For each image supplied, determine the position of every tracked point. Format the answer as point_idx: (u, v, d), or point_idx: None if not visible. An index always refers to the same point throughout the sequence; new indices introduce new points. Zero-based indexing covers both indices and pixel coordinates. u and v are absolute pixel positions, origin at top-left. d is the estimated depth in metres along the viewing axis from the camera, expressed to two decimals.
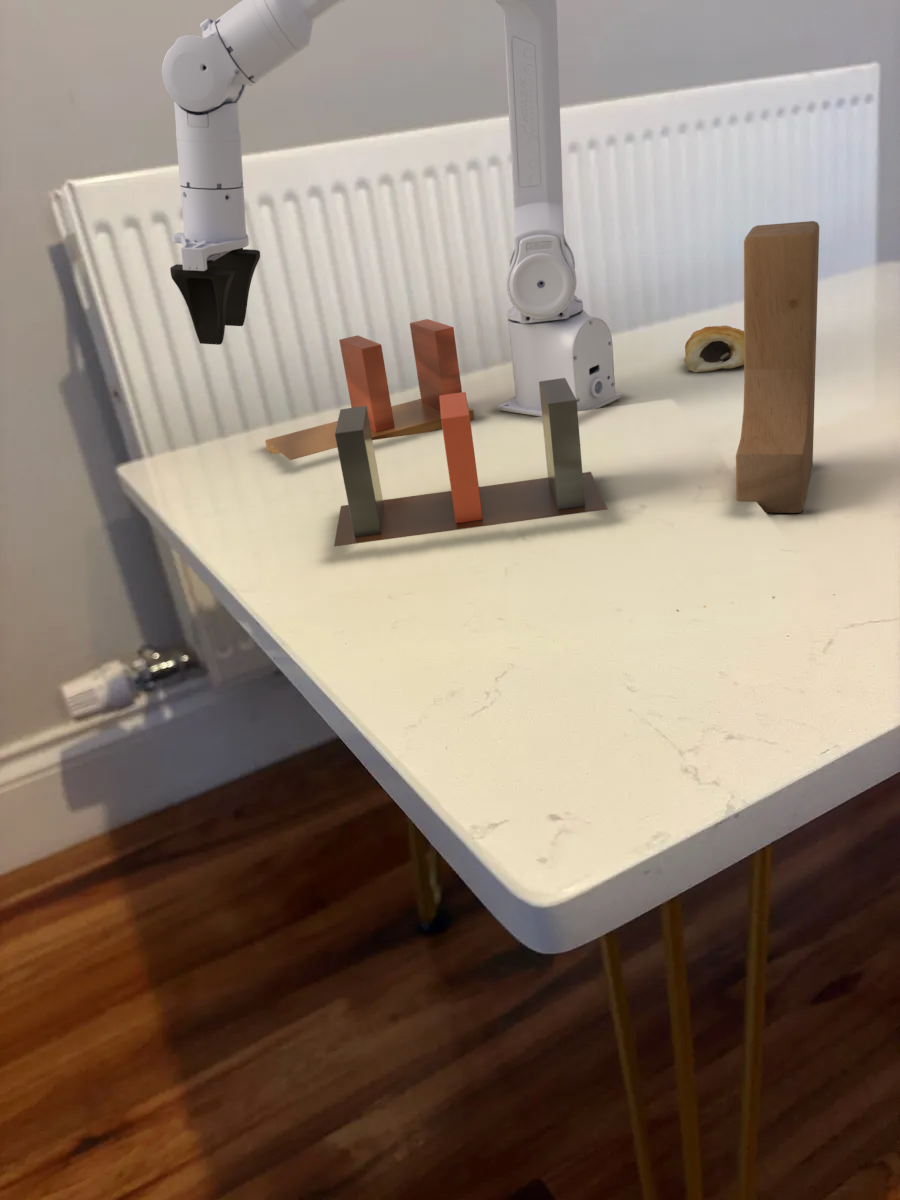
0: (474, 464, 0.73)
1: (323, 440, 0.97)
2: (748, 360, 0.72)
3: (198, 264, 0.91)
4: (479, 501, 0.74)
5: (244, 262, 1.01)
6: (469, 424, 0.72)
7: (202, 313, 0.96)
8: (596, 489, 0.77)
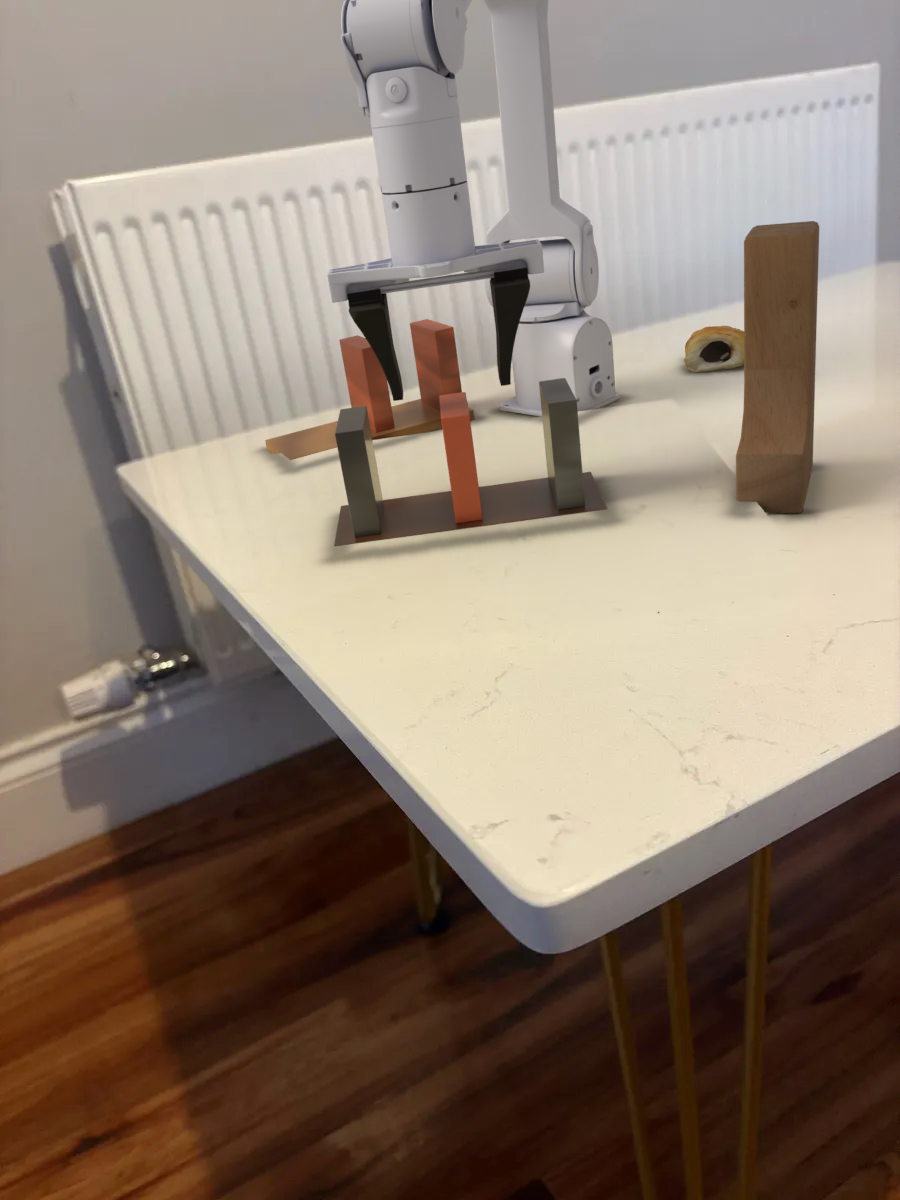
0: (474, 464, 0.73)
1: (323, 440, 0.97)
2: (748, 360, 0.72)
3: None
4: (479, 501, 0.74)
5: (387, 303, 0.72)
6: (469, 424, 0.72)
7: None
8: (596, 489, 0.77)
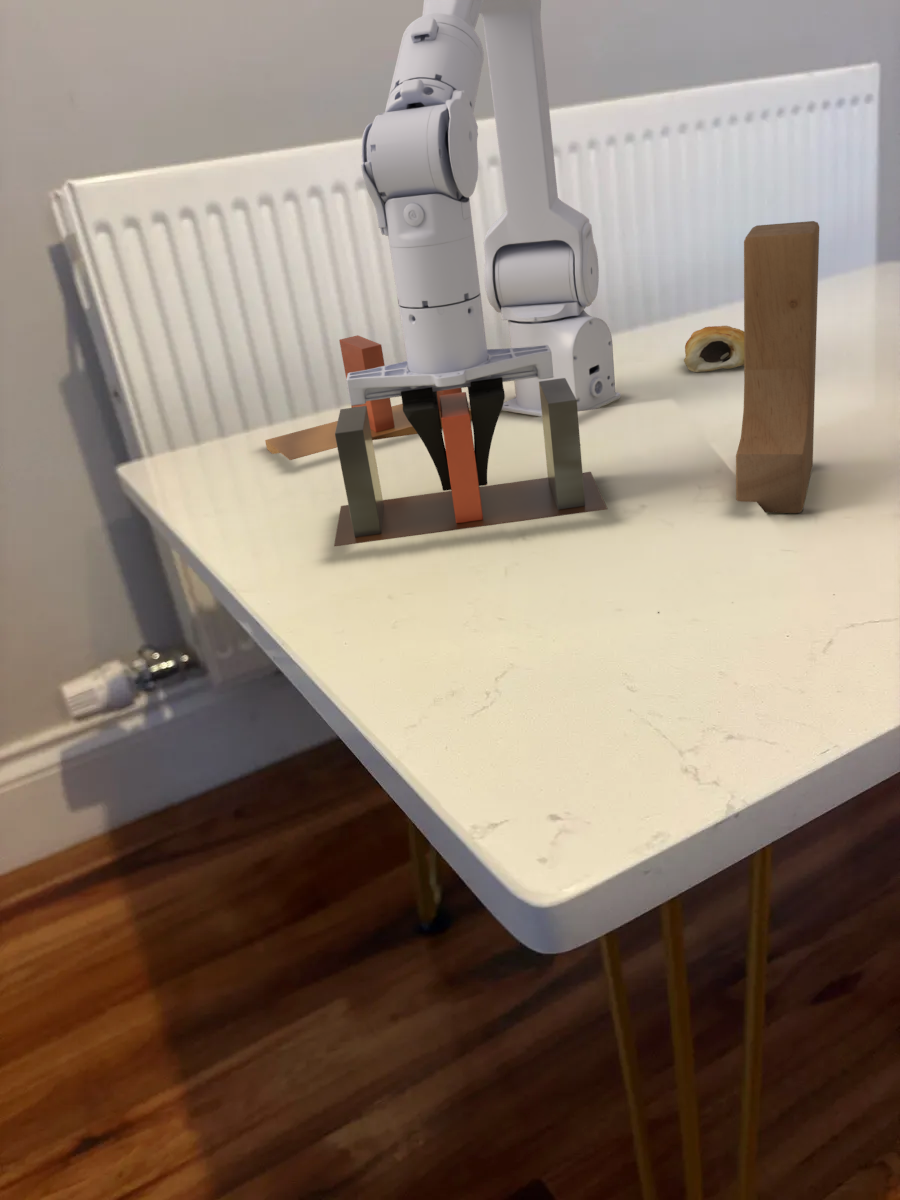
0: (474, 464, 0.73)
1: (323, 440, 0.97)
2: (748, 360, 0.72)
3: None
4: (479, 501, 0.74)
5: None
6: (469, 424, 0.72)
7: None
8: (596, 489, 0.77)
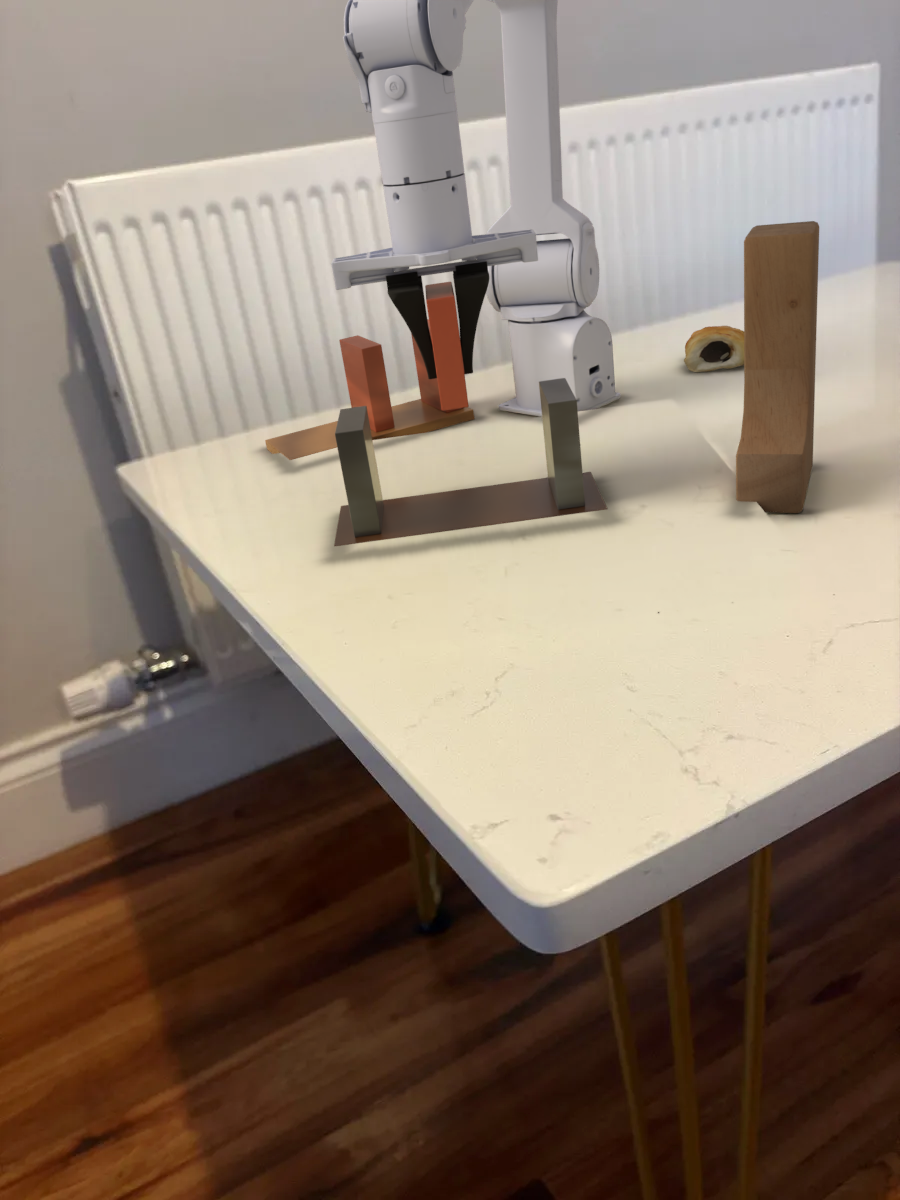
0: (459, 348, 0.73)
1: (323, 440, 0.97)
2: (748, 360, 0.72)
3: None
4: (465, 387, 0.74)
5: (422, 286, 0.75)
6: (454, 306, 0.72)
7: None
8: (596, 489, 0.77)
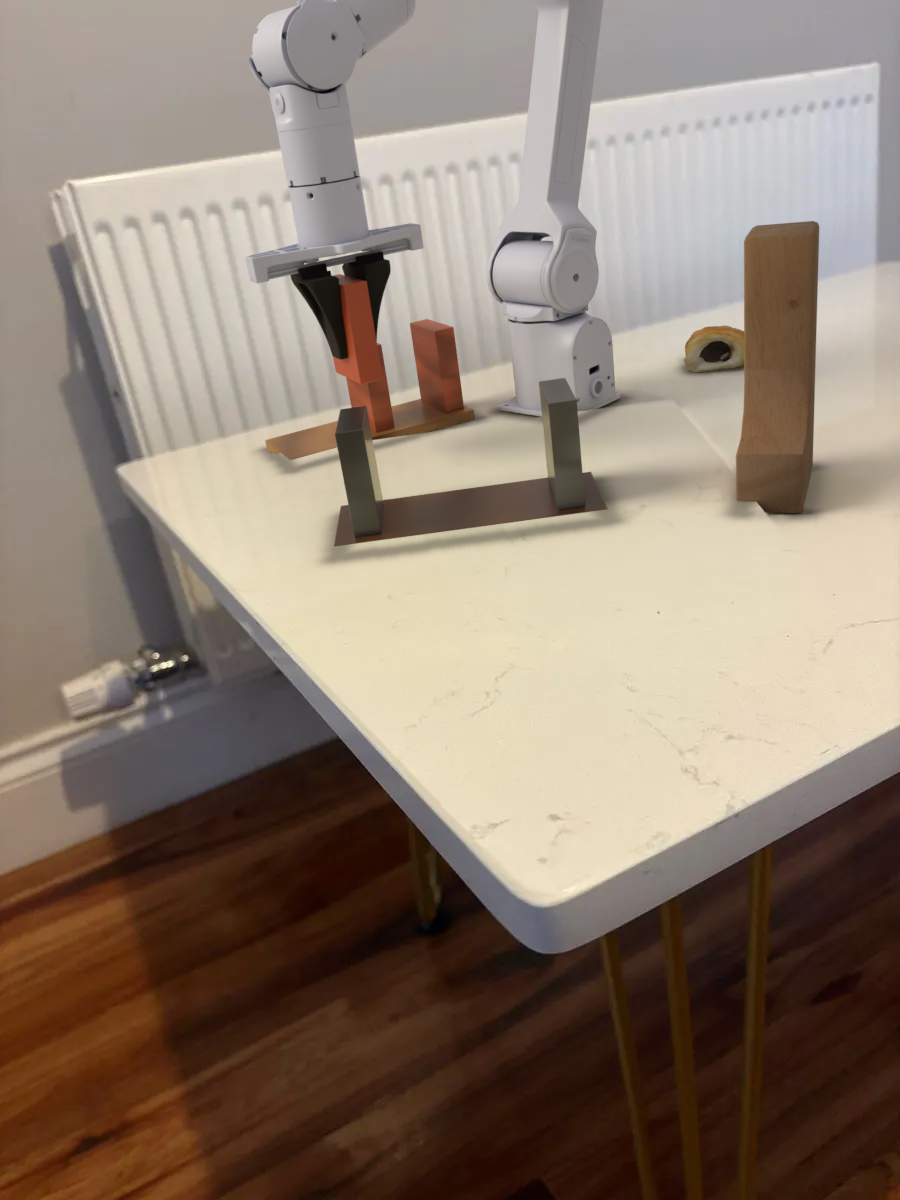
0: (373, 327, 0.83)
1: (323, 440, 0.97)
2: (748, 360, 0.72)
3: None
4: (379, 361, 0.84)
5: None
6: (367, 289, 0.82)
7: None
8: (596, 489, 0.77)
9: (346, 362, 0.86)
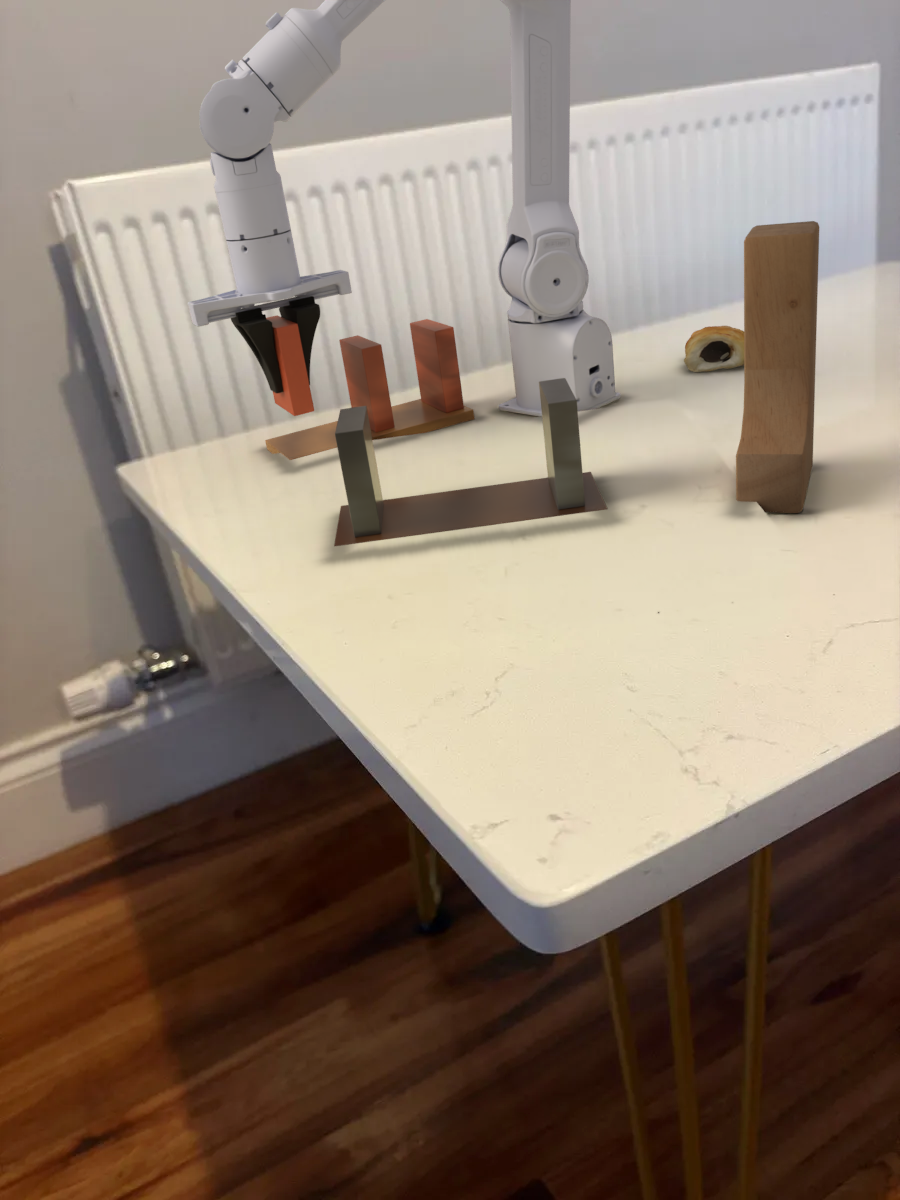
0: (304, 364, 0.92)
1: (323, 440, 0.97)
2: (748, 360, 0.72)
3: None
4: (310, 395, 0.93)
5: None
6: (298, 331, 0.91)
7: None
8: (596, 489, 0.77)
9: (282, 395, 0.95)
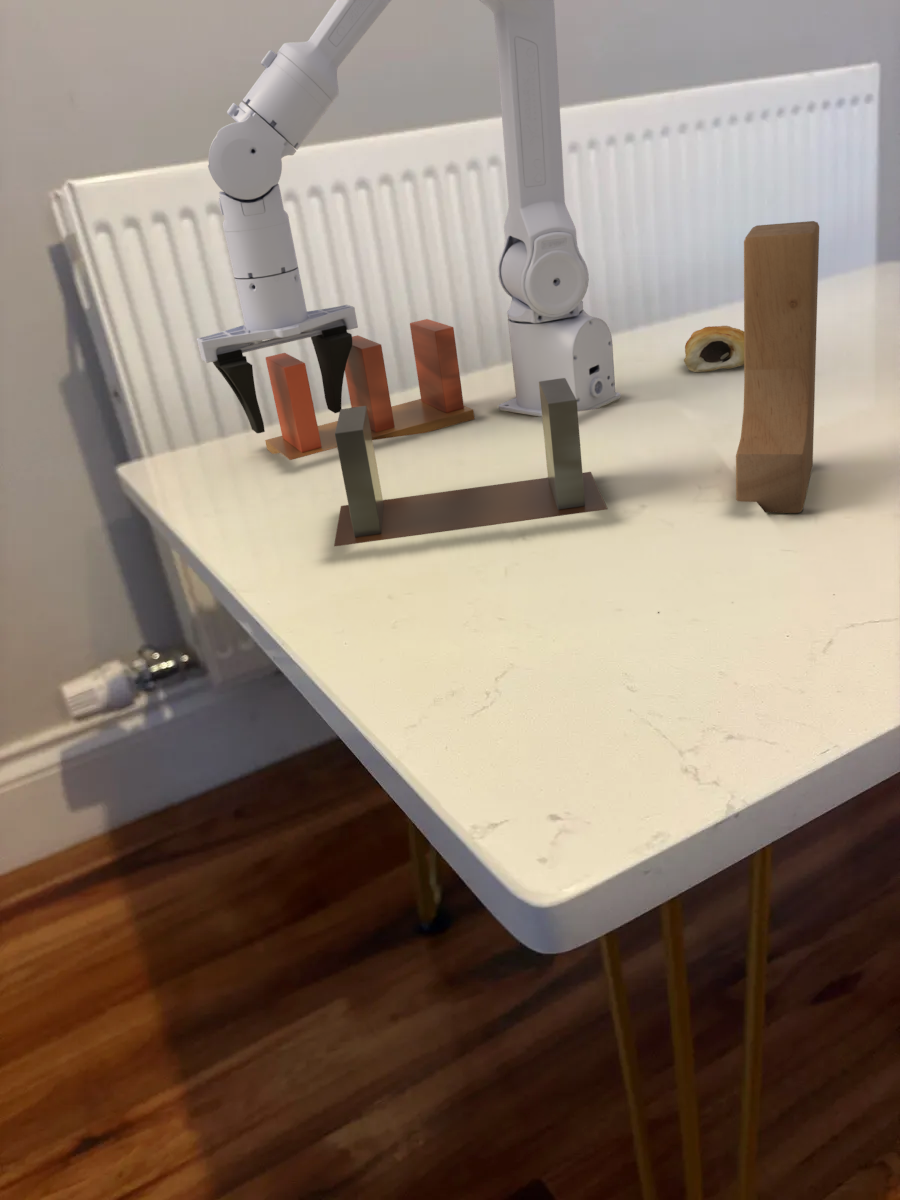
0: (312, 402, 0.94)
1: (323, 440, 0.97)
2: (748, 360, 0.72)
3: None
4: (318, 432, 0.95)
5: None
6: (305, 370, 0.92)
7: None
8: (596, 489, 0.77)
9: (290, 431, 0.96)
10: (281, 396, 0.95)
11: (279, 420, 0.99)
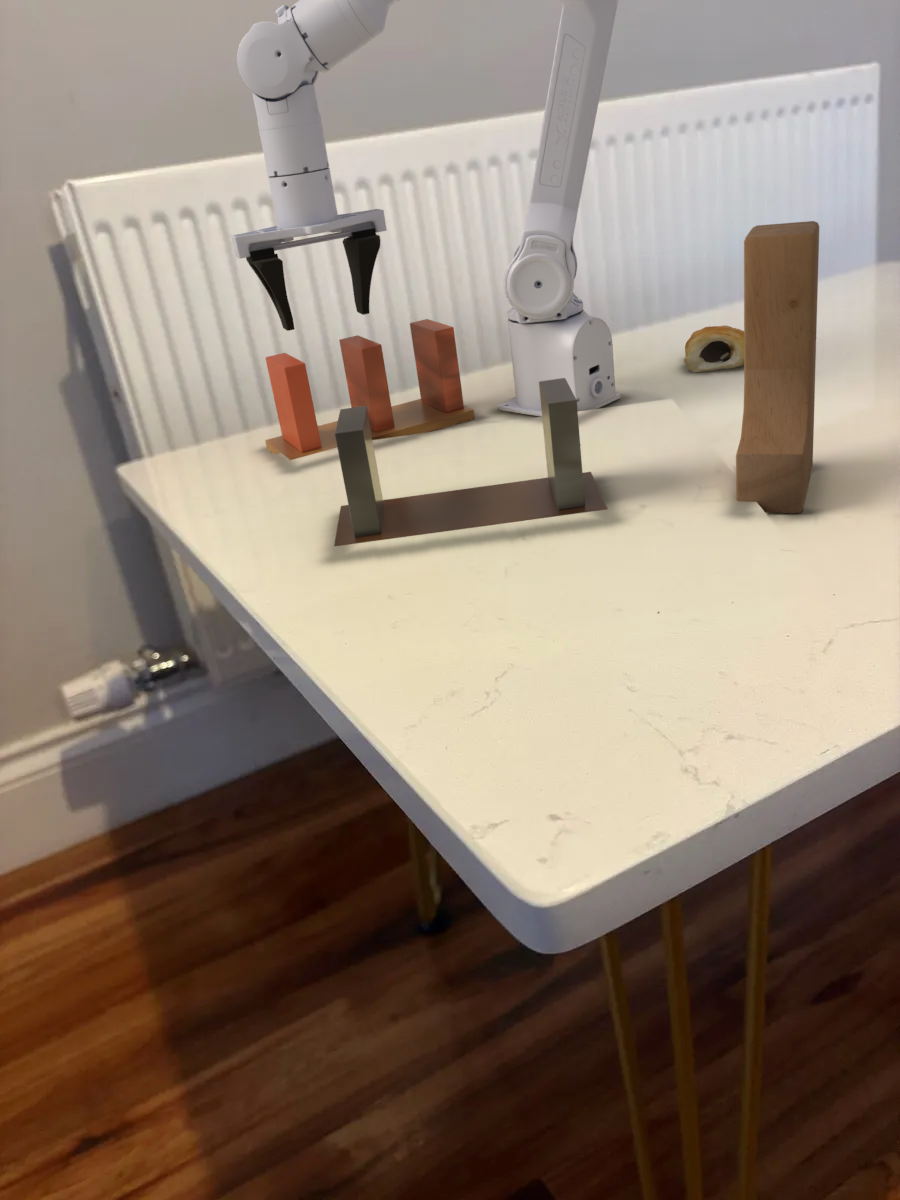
0: (312, 402, 0.94)
1: (323, 440, 0.97)
2: (748, 360, 0.72)
3: None
4: (318, 432, 0.95)
5: None
6: (305, 370, 0.92)
7: None
8: (596, 489, 0.77)
9: (290, 431, 0.96)
10: (281, 396, 0.95)
11: (279, 420, 0.99)
